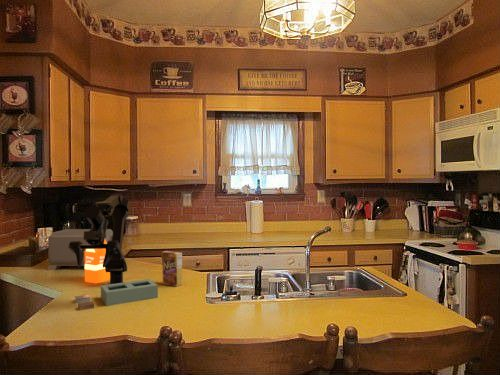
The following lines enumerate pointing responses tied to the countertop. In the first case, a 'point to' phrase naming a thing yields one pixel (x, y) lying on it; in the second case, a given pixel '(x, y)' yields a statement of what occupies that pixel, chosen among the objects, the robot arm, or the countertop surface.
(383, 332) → the countertop surface
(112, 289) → the grey holed block
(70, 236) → the toaster
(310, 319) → the countertop surface
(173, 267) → the candy box
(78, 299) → the steel tile
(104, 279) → the orange juice
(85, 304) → the walnut tile
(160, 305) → the countertop surface
